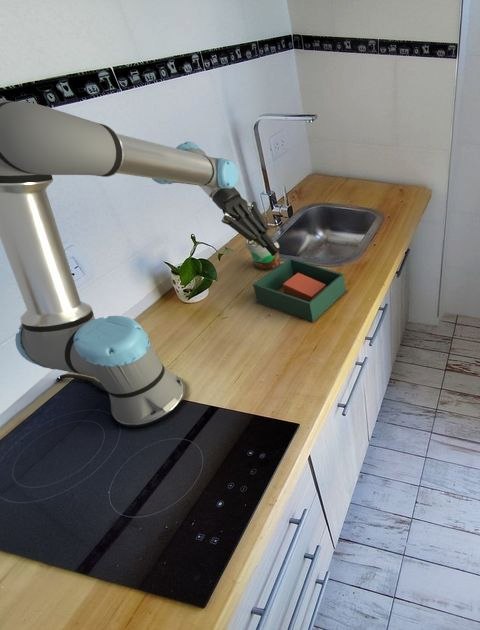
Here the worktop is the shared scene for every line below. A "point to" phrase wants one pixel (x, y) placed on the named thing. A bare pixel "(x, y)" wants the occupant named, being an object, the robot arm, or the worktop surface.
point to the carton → (303, 287)
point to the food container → (263, 256)
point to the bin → (296, 306)
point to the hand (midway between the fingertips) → (276, 253)
